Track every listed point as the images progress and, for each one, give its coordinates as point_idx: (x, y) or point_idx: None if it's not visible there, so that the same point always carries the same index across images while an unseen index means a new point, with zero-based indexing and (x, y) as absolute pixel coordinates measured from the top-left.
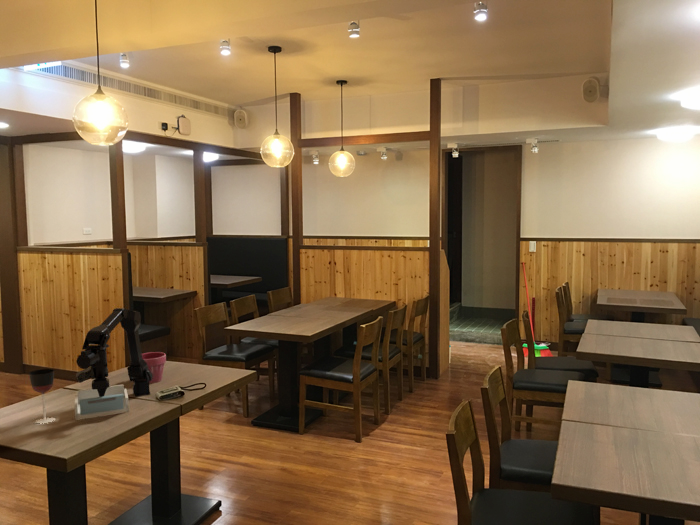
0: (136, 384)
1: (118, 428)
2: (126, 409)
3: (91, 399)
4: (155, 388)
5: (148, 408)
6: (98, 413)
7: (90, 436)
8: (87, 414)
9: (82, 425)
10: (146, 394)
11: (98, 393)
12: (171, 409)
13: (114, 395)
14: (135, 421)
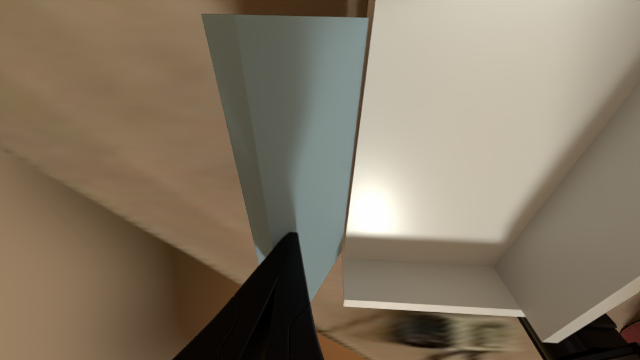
0: (575, 335)
1: (144, 196)
2: (342, 246)
3: (243, 178)
4: None
5: (341, 285)
6: (355, 142)
7: (22, 75)
8: (362, 75)
9: None
10: None
11: (247, 281)
12: None
13: None
14: (216, 246)
